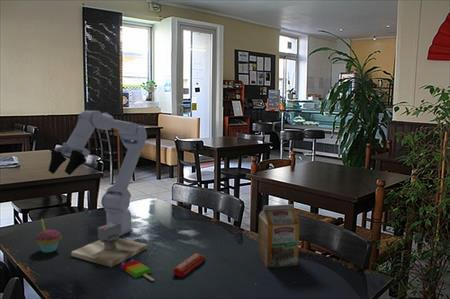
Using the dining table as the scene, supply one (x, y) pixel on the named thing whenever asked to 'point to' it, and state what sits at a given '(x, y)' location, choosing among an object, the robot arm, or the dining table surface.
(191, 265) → the candy bar
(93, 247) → the post base
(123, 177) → the robot arm
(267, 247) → the milk carton
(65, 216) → the dining table surface
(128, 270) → the popsicle
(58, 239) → the cupcake
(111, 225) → the grey block
